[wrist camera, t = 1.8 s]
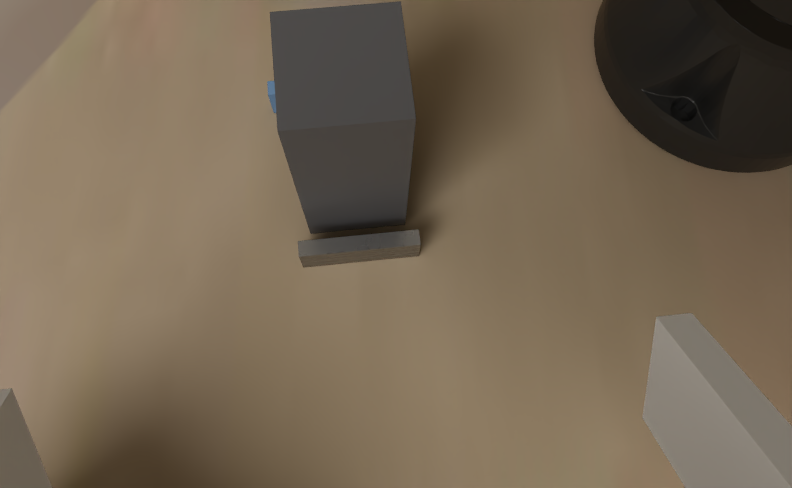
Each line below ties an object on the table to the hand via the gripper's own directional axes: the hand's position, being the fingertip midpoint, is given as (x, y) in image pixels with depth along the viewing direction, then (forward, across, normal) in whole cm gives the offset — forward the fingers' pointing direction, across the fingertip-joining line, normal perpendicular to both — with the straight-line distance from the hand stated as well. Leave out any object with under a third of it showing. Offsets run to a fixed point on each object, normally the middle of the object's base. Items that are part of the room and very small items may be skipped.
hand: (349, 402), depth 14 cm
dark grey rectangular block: (+23, +1, -5) cm, 24 cm away
